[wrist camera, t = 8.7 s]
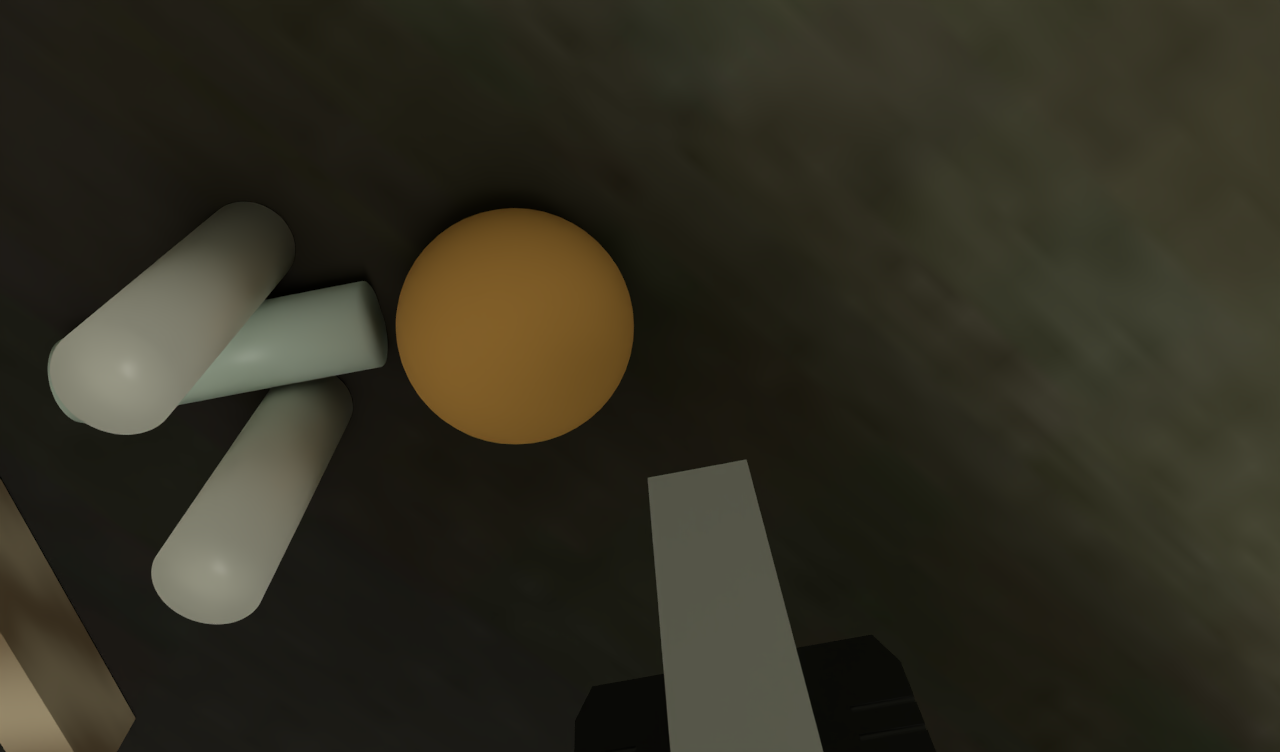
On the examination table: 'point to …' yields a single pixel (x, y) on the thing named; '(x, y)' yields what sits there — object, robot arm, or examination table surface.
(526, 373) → the ball
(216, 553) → the pin
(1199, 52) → the examination table surface
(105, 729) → the wooden bar
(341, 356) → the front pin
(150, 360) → the pin
